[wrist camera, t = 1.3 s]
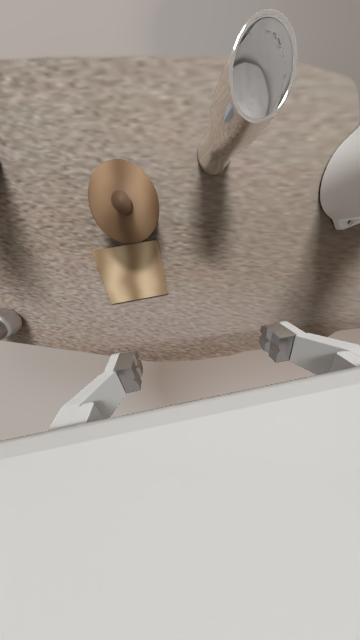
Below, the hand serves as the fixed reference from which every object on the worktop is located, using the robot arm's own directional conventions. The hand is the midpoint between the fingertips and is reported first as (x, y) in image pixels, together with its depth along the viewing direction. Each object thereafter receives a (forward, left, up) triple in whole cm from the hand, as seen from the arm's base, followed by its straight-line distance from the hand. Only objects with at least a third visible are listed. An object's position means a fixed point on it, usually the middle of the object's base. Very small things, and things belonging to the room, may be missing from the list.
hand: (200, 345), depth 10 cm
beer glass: (-11, -19, -30) cm, 37 cm away
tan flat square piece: (+9, -1, -29) cm, 31 cm away
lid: (+6, -12, -24) cm, 28 cm away
